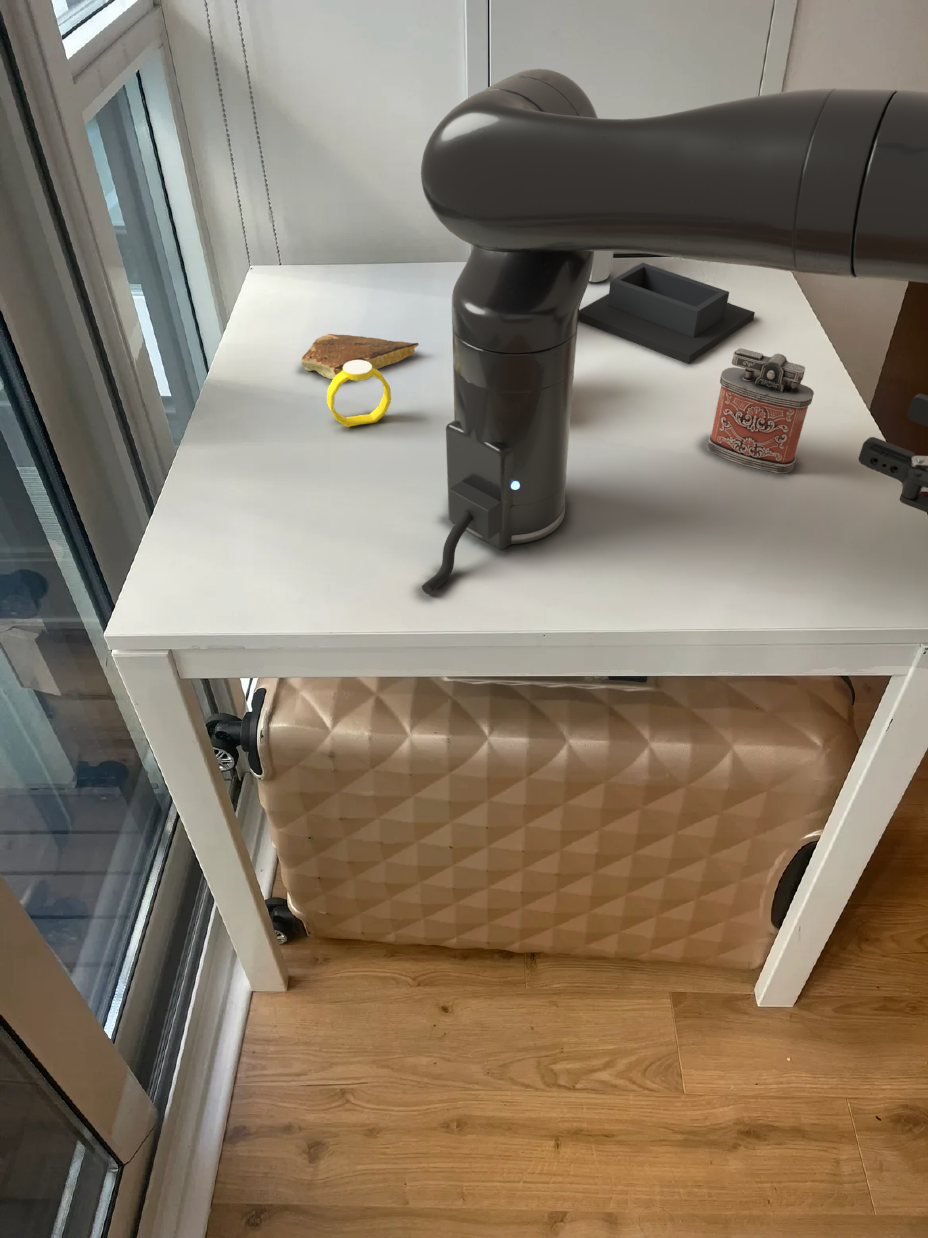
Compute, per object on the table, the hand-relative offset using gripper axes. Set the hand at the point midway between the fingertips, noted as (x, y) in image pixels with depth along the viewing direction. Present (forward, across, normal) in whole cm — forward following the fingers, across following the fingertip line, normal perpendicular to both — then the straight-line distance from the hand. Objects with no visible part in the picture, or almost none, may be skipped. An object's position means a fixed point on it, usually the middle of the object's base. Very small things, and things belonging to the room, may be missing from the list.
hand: (887, 426), depth 76 cm
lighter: (+11, 0, +8) cm, 13 cm away
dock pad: (+32, -17, +8) cm, 37 cm away
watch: (+42, +20, +8) cm, 47 cm away
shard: (+52, +12, +8) cm, 54 cm away
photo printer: (+48, -21, +8) cm, 53 cm away
